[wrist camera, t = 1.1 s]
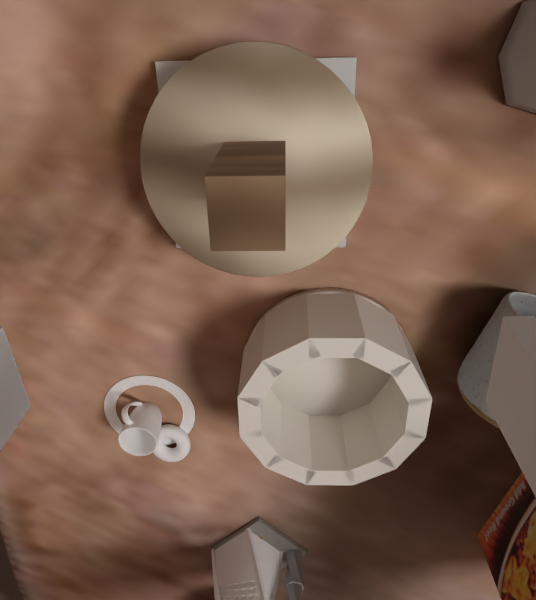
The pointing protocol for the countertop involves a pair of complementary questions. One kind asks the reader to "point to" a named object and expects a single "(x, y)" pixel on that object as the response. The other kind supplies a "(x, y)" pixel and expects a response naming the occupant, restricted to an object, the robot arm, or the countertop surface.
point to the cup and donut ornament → (150, 421)
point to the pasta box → (512, 543)
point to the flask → (520, 60)
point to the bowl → (331, 389)
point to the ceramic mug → (489, 353)
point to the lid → (256, 159)
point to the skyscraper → (256, 564)
